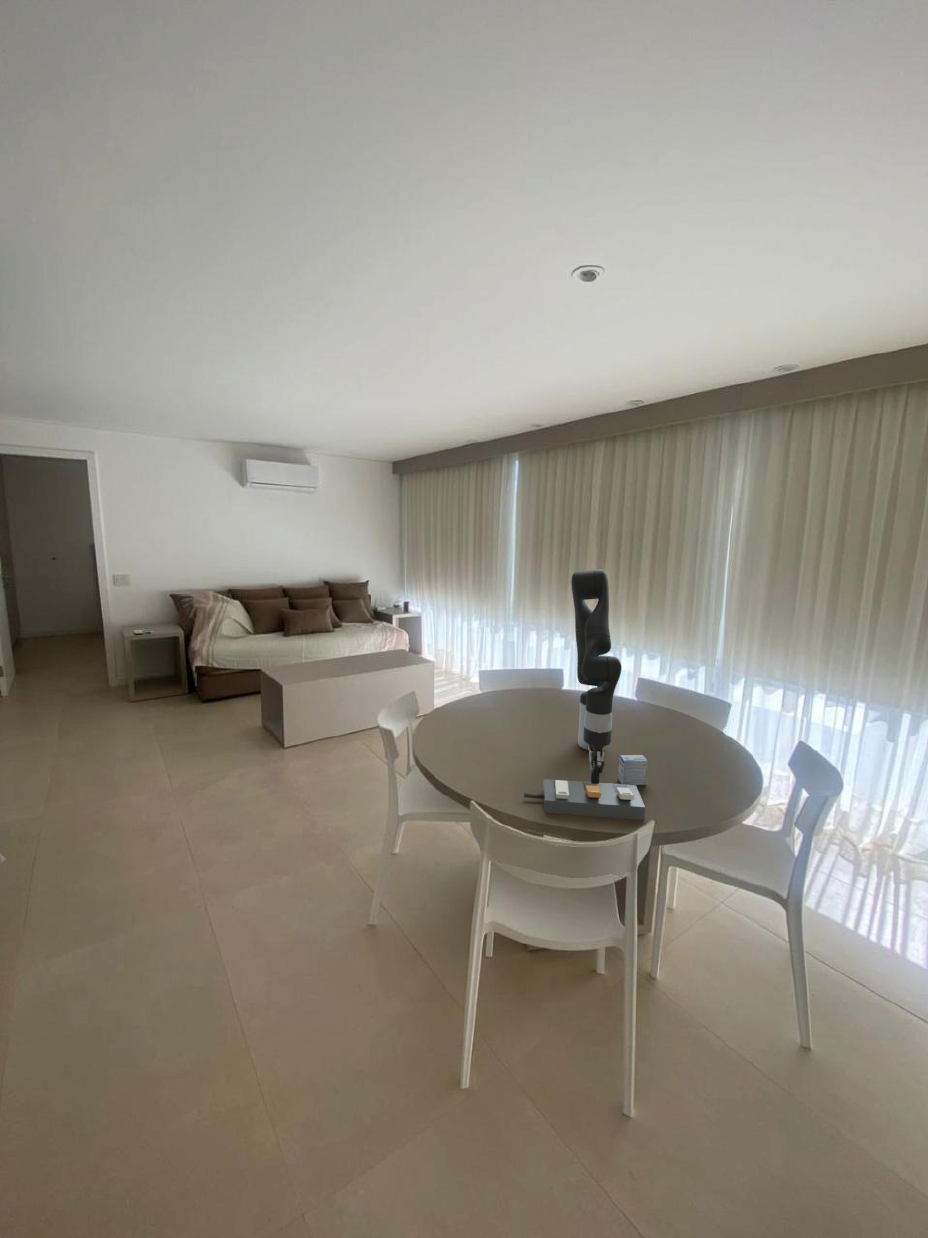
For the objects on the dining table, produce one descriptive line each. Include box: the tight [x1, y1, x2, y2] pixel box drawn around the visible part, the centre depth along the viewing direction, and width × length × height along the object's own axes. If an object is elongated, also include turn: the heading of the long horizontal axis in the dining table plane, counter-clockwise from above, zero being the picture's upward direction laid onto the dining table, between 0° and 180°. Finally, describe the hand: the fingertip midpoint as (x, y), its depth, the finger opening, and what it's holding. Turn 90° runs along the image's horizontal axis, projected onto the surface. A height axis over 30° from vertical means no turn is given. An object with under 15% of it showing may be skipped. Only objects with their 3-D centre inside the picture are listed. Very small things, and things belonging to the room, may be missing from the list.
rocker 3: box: [616, 787, 634, 800], centre depth 139 cm, size 6×4×2 cm, turn 173°
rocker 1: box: [554, 779, 569, 799], centre depth 141 cm, size 6×4×2 cm, turn 173°
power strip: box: [523, 778, 646, 821], centre depth 144 cm, size 12×34×5 cm, turn 83°
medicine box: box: [617, 754, 649, 786], centre depth 156 cm, size 8×4×9 cm, turn 92°
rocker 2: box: [586, 785, 601, 798], centre depth 140 cm, size 6×4×2 cm, turn 173°
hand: (594, 782), depth 137 cm, fingers closed
